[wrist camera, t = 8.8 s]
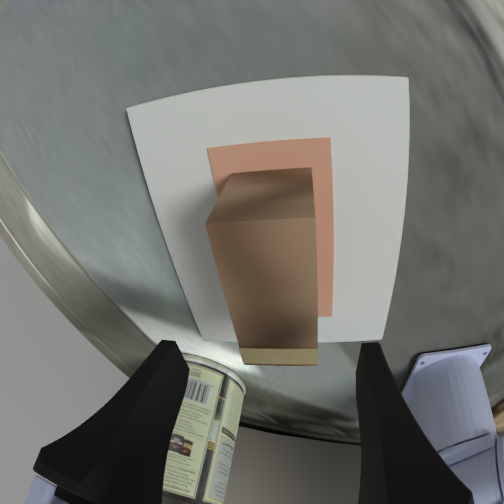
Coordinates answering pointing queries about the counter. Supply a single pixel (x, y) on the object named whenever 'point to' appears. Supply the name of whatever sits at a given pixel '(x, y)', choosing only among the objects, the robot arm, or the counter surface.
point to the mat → (286, 157)
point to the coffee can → (203, 435)
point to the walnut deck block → (269, 264)
